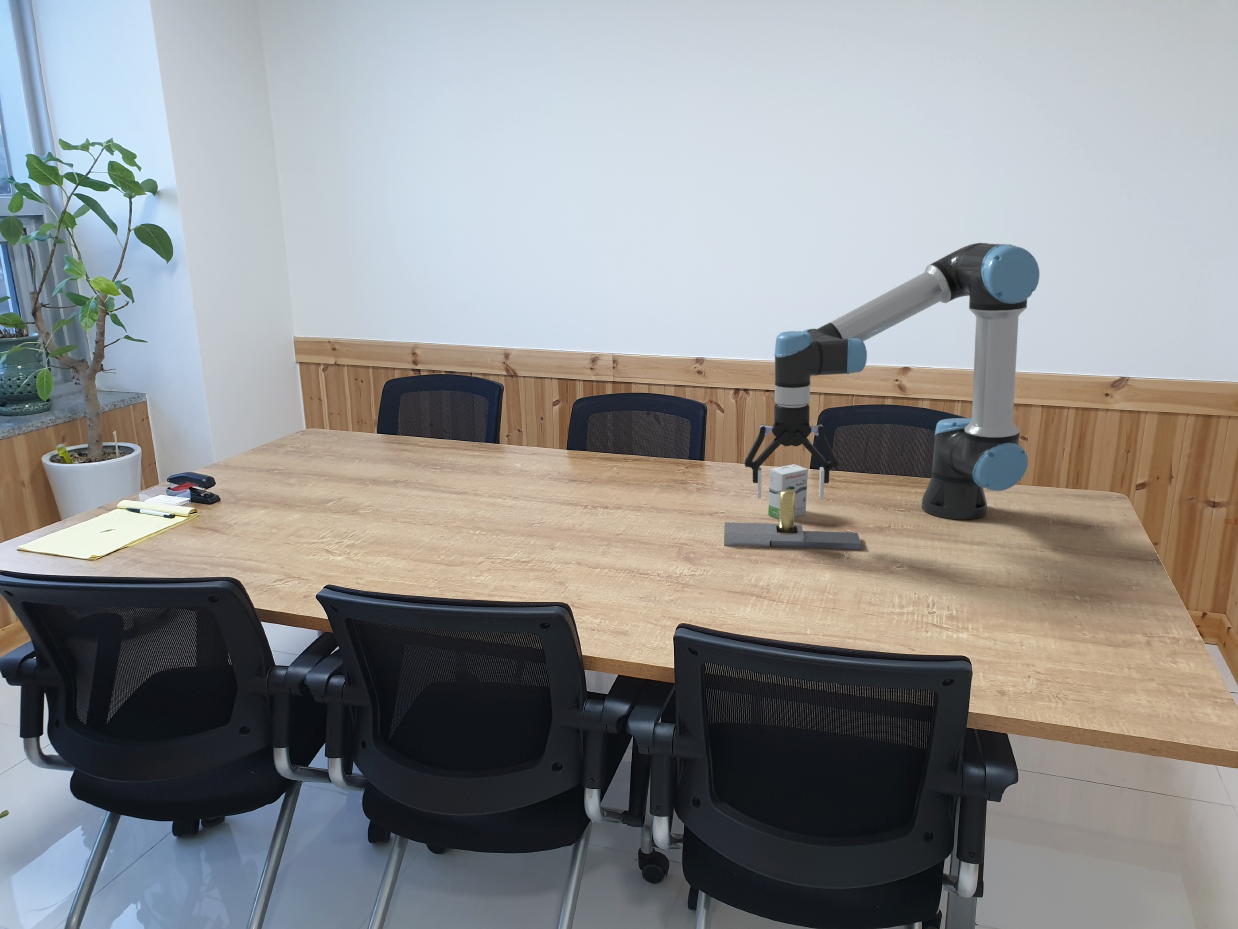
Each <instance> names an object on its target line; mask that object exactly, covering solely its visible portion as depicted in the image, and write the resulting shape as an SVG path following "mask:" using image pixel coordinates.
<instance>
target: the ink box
mask: <svg viewBox="0 0 1238 929" xmlns="http://www.w3.org/2000/svg"><path fill="white" fill-rule="evenodd" d="M808 472H809V469H808V468H806V467H803V466H800V465H797V464H793V463H792V464H789V465H788V464H787V465H784V466H779V467H772V468H771V469H770V470H769V487H768V490H769V491H768V508H767V510H768V512H767V514H768V516H769V517H772V518H775V519H777V520H779V507H780V491H781V490H784V489H790V490H794V491H795V492H796V494H795V517H798V516H803V515H806V514H807V511H806V510H807V494H808V493H807V492H808V491H807V490H808V475H809V474H808Z"/></svg>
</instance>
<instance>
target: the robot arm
mask: <svg viewBox="0 0 1238 929" xmlns="http://www.w3.org/2000/svg"><path fill="white" fill-rule="evenodd" d="M1039 280H1040V268H1039V264H1038V261H1037V259H1036V258H1035V256H1034V255H1032V253H1031V252H1030V251H1028V250H1027V249H1026V248H1024V247H1020V246H1016V245H1013V244H1010V243H1009V244H1006V243H1004V244H1003V243H1002V244H1001V243H987V242H977V243H972V244H968V245H965V246H963V247H961V248H958V249H957V250H954V251H953V252H951V253H949V254H946V255H945V256H943V257H941V258H939V259H937V260H935V261H934V262H931V263H930V264H928V265H926V267H925V270H924V272H922V273H921V274H919V275H917V276H915V277H913V278H911V279H910V280H909V279H908V281H906V282H904V283H902V284H899V285H898V286H896V287H894V288H892V289H891V290H889V291H887V292H885V293H882V294H881V295H879V296H877V297H876V298H873V299H872V300H870V301H867V302H866V303H864V304H862V305H861V306H858V307H856V308H855V309H853V310H850V311H849V312H847V313H845V314H843V315H841V316H839V317H838V318H835V319H834V320H832V321H830V322H828V323H826V324H824V325H822V326H820V327H818V328H808V329H805V330H802V331H801V330H798V331H796V330H794V331H793V330H790V331H782V332H780V333H778V334H777V335H776V338H775V345H774V347H775V348H774V354H773V356H774V403H775V405H774V406H773V408H774V410H773V411H774V412H773V413H774V415H773V421H774V422H773V425H772V426H771V425H770V426H769V425H765V424H764V423H762V424H760V425H759V429H758V430H759V431H758V435H757V436H756V439H755V440H754V442H753V444H752V446H751V448H750V450H749V452H748V453H747V455H746V457H745V459H744V467H746V468H750V469H751V471H752V483H753V484H757V499H762V465H763V464H764V462H766V461H767V459H768V458H770V456H771V455H772V454H773V453H774V451H775V450H776V449H778V448H779V446H781V445H782V446H784V447H790V446H793V447H799V446H801V445H803V446H804V448H805V449H806V450H808V452H809V453H810V454H811V456H813V458H814V459H815V460H816V461H817V462H818V463H819V464H820V467H819V482H818V483H819V484H818V485H819V486H818V487H819V488H818V495H819V499H820V500H824V499H825V498H824V497H825V496H824V495H825V492H824V491H825V484H829V483H830V482H829V481H830V470H831V469H833V468H838V466H839V463H838V460H837V457H836V456H835V453H834V452H833V450H832V448H831V446H830V444H829V441H828V440H827V438H826V435H825V428H824V426H823V424H822V423H818V424H817V425H813V426H811V425H810V405H809V403H810V402H811V376H814V377H815V376H816V377H817V376H827V375H829V376H830V375H845V374H846V375H849V374H850V375H851V374H856V373H860V372H862V371H863V370H864V369H865V367H866V364H867V361H868V360H867V359H868V351H867V347H866V344H865V341H867V340H869V339H871V338H872V337H874V336H875V337H876V336H877V335H878V334H881V333H883V332H884V331H886V330H888V329H890V328H892V327H893V326H896V325H898V324H899V323H902V322H904V321H905V320H908V319H909V318H911V317H913V316H915V315H917V314H919V313H921V312H923V311H924V310H926V309H928V308H930V307H932V306H934V305H936V304H938V303H941V304H942V303H943V304H947V303H949V302H951V301H953V300H956V299H959V298H962V297H967V296H969V299H968V300H969V302H968V303H969V304H968V309H969V311H970V312H971V313H972V314H974V316H975V333H974V334H975V335H974V336H975V337H974V359H973V360H974V361H973V362H974V363H973V382H972V383H973V384H972V385H973V386H972V387H973V388H972V407H971V408H972V409H971V410H972V411H971V418H970V417H968V418H967V417H966V418H965V417H964V418H963V417H961V418H959V417H956V418H954V417H953V418H945V419H941V420H938V422H937V423H936V425H935V426H936V427H935V433H934V443H933V444H934V445H933V446H934V447H933V455H932V457H933V458H932V467H931V468H932V471H931V478H930V480H929V482H928V485H927V487H926V489H925V492H924V494H923V496H922V498H921V510H923V511H924V512H926V513H928V514H930V515H932V516H936V517H938V518H944V519H951V520H976V519H981V518H982V517H984V516H986V515H987V512H988V503H987V499H986V495H985V494H986V493H985V491H984V490H985V489H987V490H989V491H993V492H1000V491H1005V490H1006V491H1007V490H1008V489H1009V490H1010V489H1011V488H1012V487H1015V485H1016V484H1018V482H1019V481H1020V482H1021V480H1022V479H1023V477H1025V475H1026V472H1027V470H1028V466H1029V459H1028V454H1027V452H1026V450H1025V449H1024V448H1023V447H1022V446H1021V445H1020V428H1019V427H1018V426H1017V425H1016V424H1015V423H1014V408H1015V407H1014V404H1015V389H1016V388H1015V386H1016V372H1017V371H1016V370H1017V369H1016V368H1017V352H1018V332H1019V331H1018V330H1019V317H1020V315H1021V314H1023V313H1024V312H1025V310H1026V309H1028V308H1027V306H1028V299H1029V298H1030V297H1031V296H1032V295H1033V292H1035V291H1036V289H1037V287H1038V285H1039V282H1040V281H1039ZM770 433H772V434H773V436H774V438H773V439H772V441H771V442H770V444H768V445H767V447H766V448H765V449H764V450H763V451H762V452H761V454H760V455H759V456H758V457H757V458H756V459H755V460H754V458H755V456H756V455H757V453H758V451H759V450H760V447H761V445H762V444H763V442H764V440H765V437H768V436H769V434H770ZM811 433H813V435H814V436H816V437H818V438H819V441H820V443H821V445H822V447H823V449H824V451H825V453H826V456H827V457H828V459H829V461H827V460H826V458H825V457H824V456H823V455H822V454H821V452H820V451H819V450H818V449H817V448H816V447H815V446H814V445H813V443H812V442H811V441H810V439H808V437H809V435H810V434H811ZM753 460H754V461H753Z"/></svg>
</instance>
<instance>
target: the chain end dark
mask: <svg viewBox="0 0 1238 929" xmlns="http://www.w3.org/2000/svg"><path fill="white" fill-rule="evenodd" d="M777 533H779V532H777ZM794 533H796V532H794ZM803 534H804V539H803V542H796V541H770V547H771V548H788V549H789V548H791V549H792V548H794V549H819V550H821V549H823V550H844V551H845V550H846V551H847V550H848V551H850V550H851V551H861V550H862V543H861V540H860V537H859V533H858V532H849V531H824V530H823V531H818V530H814V531H813V530H803Z"/></svg>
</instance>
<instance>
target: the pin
mask: <svg viewBox="0 0 1238 929" xmlns="http://www.w3.org/2000/svg"><path fill="white" fill-rule="evenodd" d="M795 494H796V492H795V491H794V490H790V489H784V490H781V491H780V507H779V519H778V524H779V533H794V524H795V517H796V516H795Z"/></svg>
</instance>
